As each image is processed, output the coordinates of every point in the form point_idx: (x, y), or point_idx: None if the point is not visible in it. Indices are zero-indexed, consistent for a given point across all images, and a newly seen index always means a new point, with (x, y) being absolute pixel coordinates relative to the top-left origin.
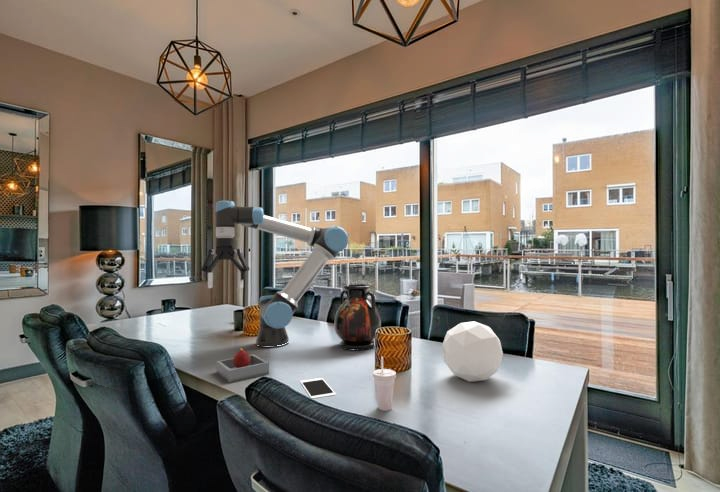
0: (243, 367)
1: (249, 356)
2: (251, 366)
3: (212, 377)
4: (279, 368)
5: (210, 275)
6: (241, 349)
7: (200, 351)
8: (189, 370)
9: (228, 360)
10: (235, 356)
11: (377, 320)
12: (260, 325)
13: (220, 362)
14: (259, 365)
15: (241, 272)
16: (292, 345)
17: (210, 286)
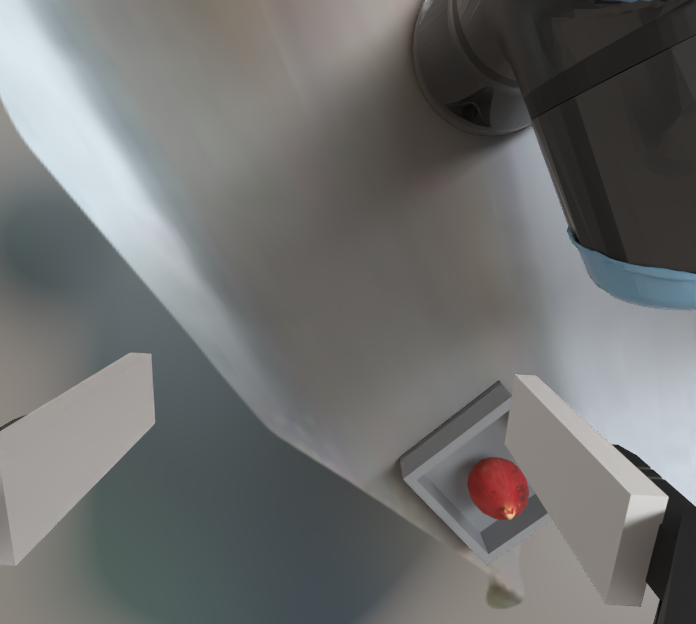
0: (521, 538)
1: (527, 485)
2: (543, 524)
3: (407, 498)
4: (601, 417)
5: (51, 498)
6: (511, 517)
7: (198, 203)
8: (299, 440)
9: (438, 461)
10: (485, 513)
11: None
12: (470, 52)
13: (423, 491)
14: None
15: (658, 582)
16: None
17: (145, 411)
